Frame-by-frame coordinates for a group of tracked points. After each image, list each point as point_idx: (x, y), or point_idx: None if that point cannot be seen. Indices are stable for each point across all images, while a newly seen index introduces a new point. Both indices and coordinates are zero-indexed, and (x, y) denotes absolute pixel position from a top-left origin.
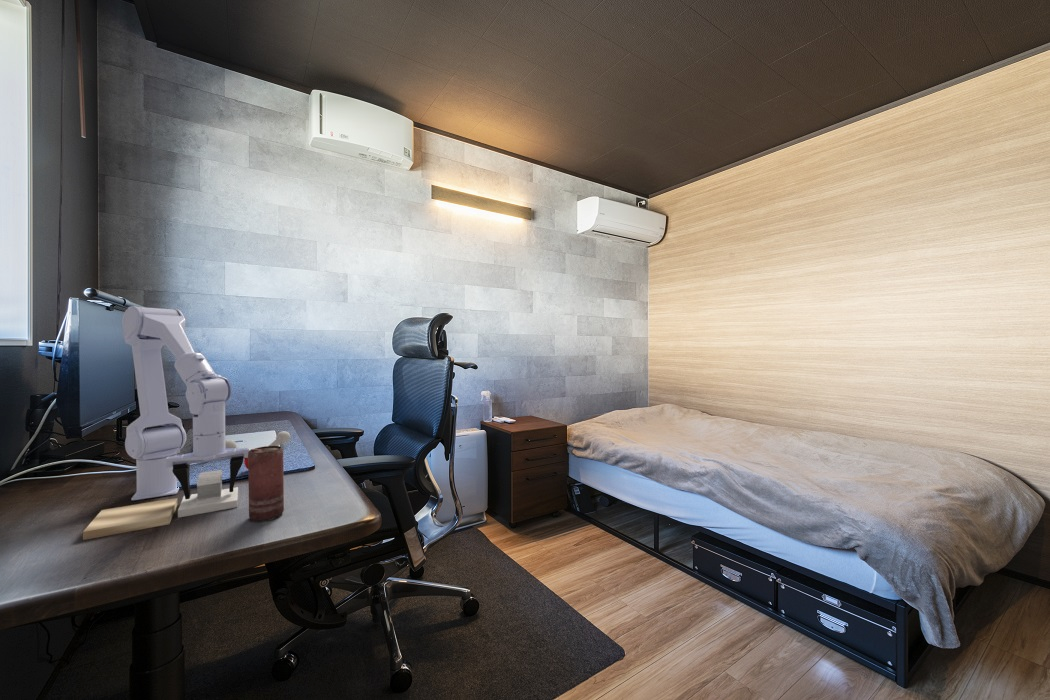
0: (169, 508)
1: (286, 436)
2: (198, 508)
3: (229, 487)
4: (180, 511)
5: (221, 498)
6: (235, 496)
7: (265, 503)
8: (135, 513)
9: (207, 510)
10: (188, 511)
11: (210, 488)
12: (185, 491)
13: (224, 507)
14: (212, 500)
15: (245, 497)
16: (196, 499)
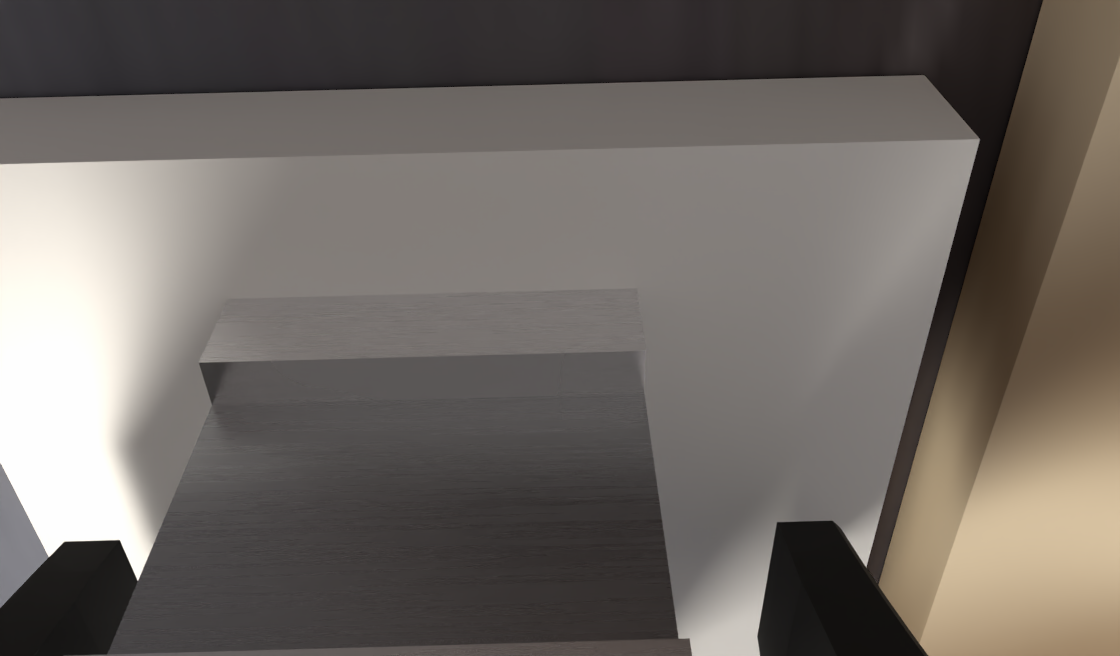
0: (1078, 339)
1: None
2: (602, 129)
3: (66, 616)
4: (922, 124)
5: None
6: (9, 411)
7: None
8: None
9: (447, 106)
10: (776, 113)
11: (372, 563)
12: (892, 643)
13: (149, 112)
14: (365, 316)
15: (8, 508)
16: None
